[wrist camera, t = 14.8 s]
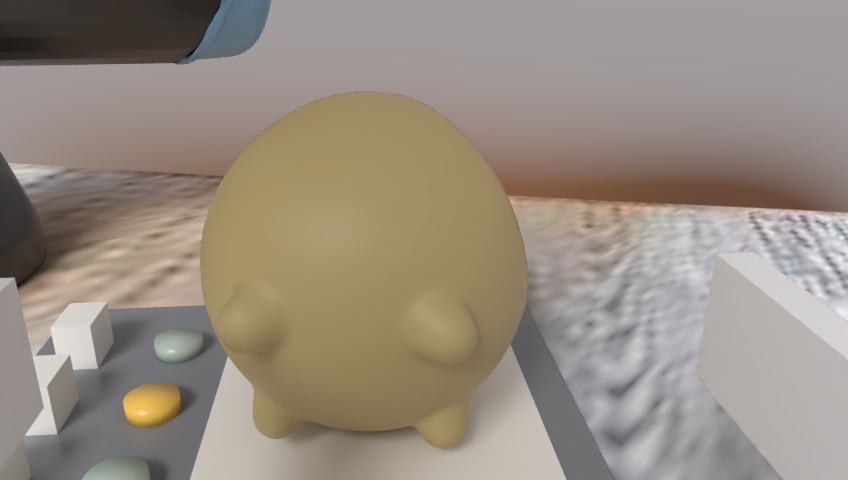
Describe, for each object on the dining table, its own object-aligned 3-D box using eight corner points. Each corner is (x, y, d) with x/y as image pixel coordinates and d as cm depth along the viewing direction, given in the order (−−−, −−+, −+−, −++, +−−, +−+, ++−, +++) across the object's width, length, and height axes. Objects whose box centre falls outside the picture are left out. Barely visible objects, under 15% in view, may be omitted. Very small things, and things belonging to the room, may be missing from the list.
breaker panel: (76, 334, 32) (64, 273, 31) (518, 316, 33) (522, 258, 32) (-166, 665, 17) (-206, 569, 16) (652, 601, 19) (667, 510, 18)
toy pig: (503, 484, 26) (511, 226, 31) (548, 405, 15) (549, 27, 20) (237, 462, 26) (286, 212, 31) (101, 370, 16) (206, 11, 21)
